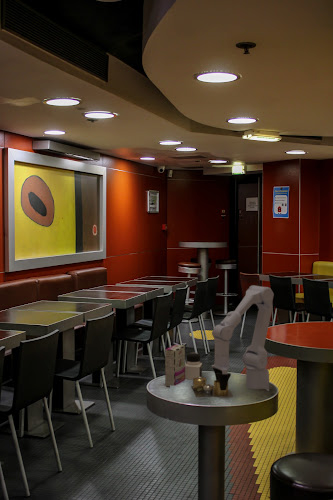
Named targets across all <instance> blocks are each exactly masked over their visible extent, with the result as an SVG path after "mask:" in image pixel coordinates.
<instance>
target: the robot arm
mask: <svg viewBox="0 0 333 500" xmlns="http://www.w3.org/2000/svg"><path fill="white" fill-rule="evenodd" d="M274 296H275V294H274V292H273V290H272V289H271V288H270V287H268V286H260V285H255V284H253V285H250V286H249V288H247V290H246V291H245V296H244V297H242V300H241V301H240V303H239V304H238V305H237V307H236V308H235V310H233V311H231V310H230V311H229V312H227V313H226V316H225V317H224V319H222V321H221V322H220V323H219V324H216V325H215V326H214V327H213V329H212V331H211V335H212V336H213V342H214V364H211V368H212V370H213V372H214V377H215V380H219V384H220V390H226V388H227V383H228V384H229V379H230V378H231V376H232V374H231V372H230V373H229V372H228V370H229V368H230V362H229V360H230V353H229V352H230V339H231V338H232V337H233V334H234V330H235V328H237V326H238V325H239V324H240V322H241V321H242V316H243V315H244V314H245V313H246V312H247V311H248V310H249V308H251V306H252V305H254V304H255V305H256V306H257V308H258V311H257V317H256V321H255V325H254V330H253V334H252V339H251V344H250V345H249V346H247V347H246V350H245V352H244V354H243V355H242V363H243V364H244V368H246V371H245V376H246V377H245V384H246V385H245V388H246V389H248V390H266V391H267V392H270V371H269V369H268V368H266V367H267V366H268V351H267V350H266V349H265V344H266V339H267V336H268V335H267V334H268V331H269V326H270V321H271V317H272V312H273V306H274V305H273V299H274Z"/></svg>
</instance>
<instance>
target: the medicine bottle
mask: <svg viewBox="0 0 333 500" xmlns="http://www.w3.org/2000/svg"><path fill="white" fill-rule="evenodd" d="M195 377H203V362H201V354H200V353H197V352H189V353H187V354H186V362H185V380H190V381H191V380H192V381H193V378H195Z"/></svg>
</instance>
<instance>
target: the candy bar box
mask: <svg viewBox="0 0 333 500" xmlns="http://www.w3.org/2000/svg"><path fill="white" fill-rule="evenodd" d="M164 354H165V355H164V361H165V362H164V365H165V366H164V367H165V369H164V371H165V373H164V374H165V375H164V376H165V379H164V380H165V383H164V384H165V387H166V388H171V387H170V386H173V387H174V386H177V385H179V384H181V383H182V382H185V380H186V379H185V364H186V345H182V344H181V345H180V344H174V345H171V346H170V347H167V348H165V350H164Z"/></svg>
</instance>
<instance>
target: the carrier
mask: <svg viewBox="0 0 333 500" xmlns="http://www.w3.org/2000/svg"><path fill="white" fill-rule="evenodd" d="M190 388H191V390H192V392H193V393H194V395H195V397H196V398H206V397H207V398H216V397H217V398H218V397H219V398H221V397H228V398H229V397H234V396H233V394H232V392H231V391H230V389H228V394H226V395H217V394H214V384H210V383H207V378H206V377H204V376H202V377H195V378H193V380H192V385H191V386H190Z"/></svg>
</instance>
